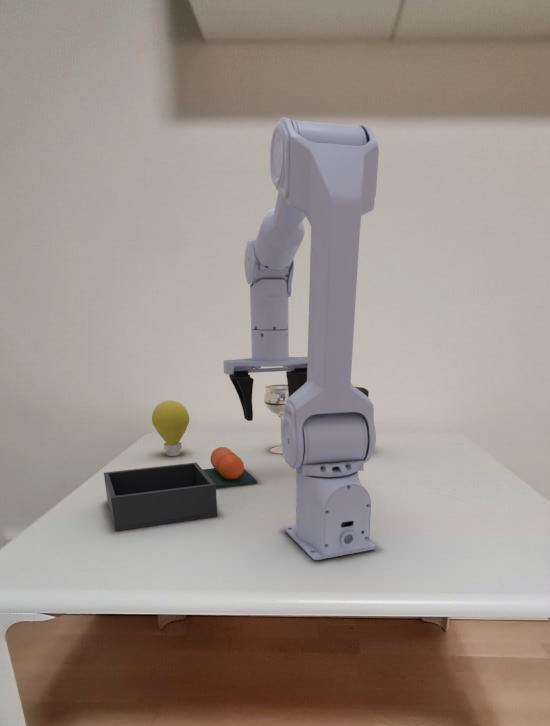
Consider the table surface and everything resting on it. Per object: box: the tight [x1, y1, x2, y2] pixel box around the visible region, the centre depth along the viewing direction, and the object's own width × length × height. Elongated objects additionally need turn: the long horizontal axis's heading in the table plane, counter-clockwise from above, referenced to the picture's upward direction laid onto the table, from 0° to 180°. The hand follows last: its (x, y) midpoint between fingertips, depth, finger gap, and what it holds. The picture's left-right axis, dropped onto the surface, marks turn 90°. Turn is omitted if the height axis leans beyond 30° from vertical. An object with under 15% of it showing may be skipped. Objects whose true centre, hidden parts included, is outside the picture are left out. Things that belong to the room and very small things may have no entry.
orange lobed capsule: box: [210, 446, 245, 480], centre depth 88 cm, size 9×4×4 cm
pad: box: [202, 467, 258, 489], centre depth 88 cm, size 9×10×1 cm
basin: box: [103, 462, 218, 532], centre depth 75 cm, size 11×13×4 cm
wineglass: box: [263, 384, 289, 455], centre depth 103 cm, size 7×7×12 cm
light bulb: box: [151, 400, 190, 457], centre depth 100 cm, size 7×7×10 cm
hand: (271, 417), depth 88 cm, fingers open, 7 cm apart
